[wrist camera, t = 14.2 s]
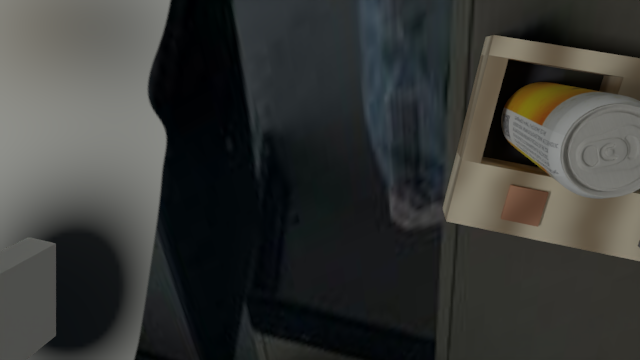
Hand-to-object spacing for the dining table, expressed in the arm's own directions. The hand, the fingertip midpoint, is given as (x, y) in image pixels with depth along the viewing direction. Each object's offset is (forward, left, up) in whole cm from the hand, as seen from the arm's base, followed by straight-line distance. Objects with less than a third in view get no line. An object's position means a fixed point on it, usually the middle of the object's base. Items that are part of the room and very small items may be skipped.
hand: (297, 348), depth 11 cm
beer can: (+12, -7, -33) cm, 36 cm away
